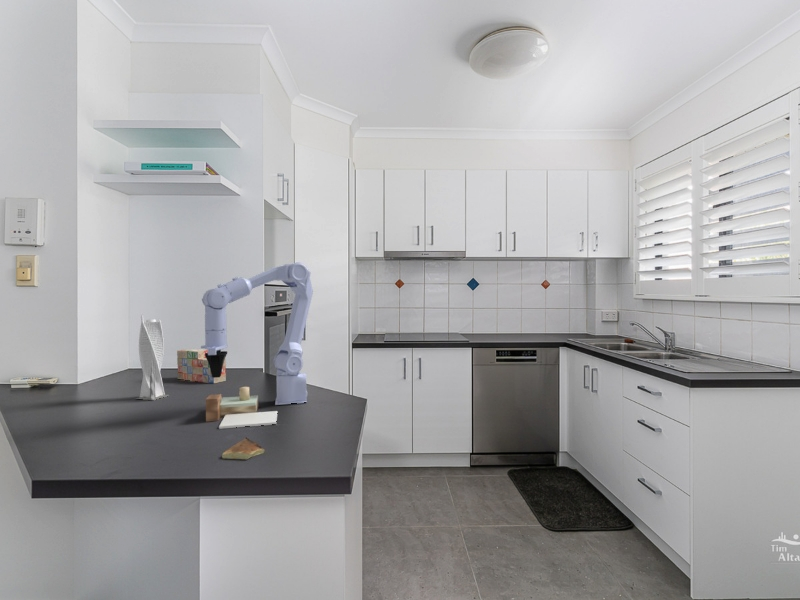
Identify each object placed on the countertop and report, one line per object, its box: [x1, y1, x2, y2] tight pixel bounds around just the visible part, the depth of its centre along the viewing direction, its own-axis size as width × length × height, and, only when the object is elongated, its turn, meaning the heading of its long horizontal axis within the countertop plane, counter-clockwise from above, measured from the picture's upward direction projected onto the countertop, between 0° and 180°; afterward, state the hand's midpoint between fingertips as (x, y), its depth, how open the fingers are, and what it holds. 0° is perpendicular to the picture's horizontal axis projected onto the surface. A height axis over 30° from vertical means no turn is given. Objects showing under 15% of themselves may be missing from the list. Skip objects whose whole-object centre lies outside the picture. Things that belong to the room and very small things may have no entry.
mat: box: [218, 410, 278, 430], centre depth 122 cm, size 14×12×1 cm
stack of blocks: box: [176, 348, 227, 384], centre depth 183 cm, size 21×6×12 cm, turn 63°
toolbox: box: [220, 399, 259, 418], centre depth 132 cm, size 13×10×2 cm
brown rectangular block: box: [205, 393, 222, 423], centre depth 125 cm, size 3×7×6 cm, turn 14°
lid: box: [220, 386, 259, 408], centre depth 132 cm, size 13×10×4 cm
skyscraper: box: [135, 314, 170, 401], centre depth 152 cm, size 8×8×28 cm
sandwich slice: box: [221, 437, 265, 460], centre depth 98 cm, size 11×8×2 cm
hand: (216, 377), depth 130 cm, fingers closed
